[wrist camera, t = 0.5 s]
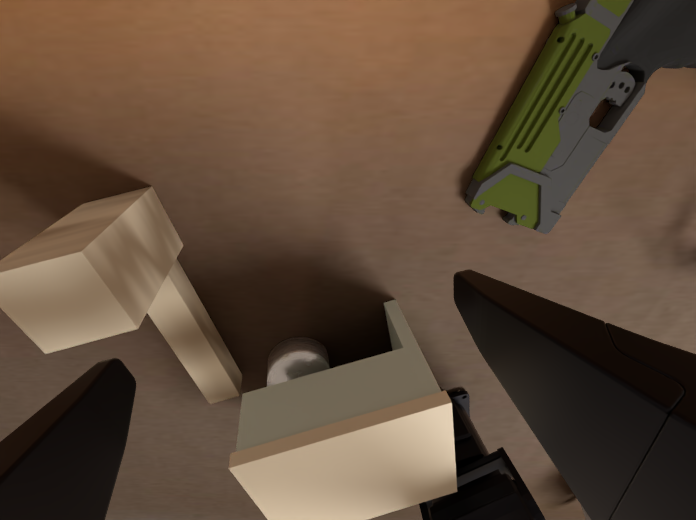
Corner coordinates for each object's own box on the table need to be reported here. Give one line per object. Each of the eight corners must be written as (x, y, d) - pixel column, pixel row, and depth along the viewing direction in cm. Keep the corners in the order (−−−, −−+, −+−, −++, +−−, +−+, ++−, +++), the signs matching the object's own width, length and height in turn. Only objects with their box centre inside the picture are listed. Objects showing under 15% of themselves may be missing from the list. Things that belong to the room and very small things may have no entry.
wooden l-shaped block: (251, 372, 28) (242, 471, 21) (204, 385, 28) (180, 490, 21) (152, 186, 19) (81, 251, 12) (82, 203, 19) (-28, 279, 12)
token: (333, 369, 30) (337, 393, 27) (278, 385, 29) (278, 410, 27) (319, 328, 27) (323, 351, 25) (259, 345, 27) (257, 369, 25)
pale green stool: (410, 380, 32) (457, 491, 24) (285, 417, 31) (286, 544, 23) (397, 296, 26) (451, 402, 18) (245, 339, 26) (228, 468, 18)
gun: (591, 248, 29) (446, 196, 24) (799, -13, 20) (637, -165, 16) (616, 264, 26) (461, 209, 22) (860, -22, 18) (692, -201, 14)
